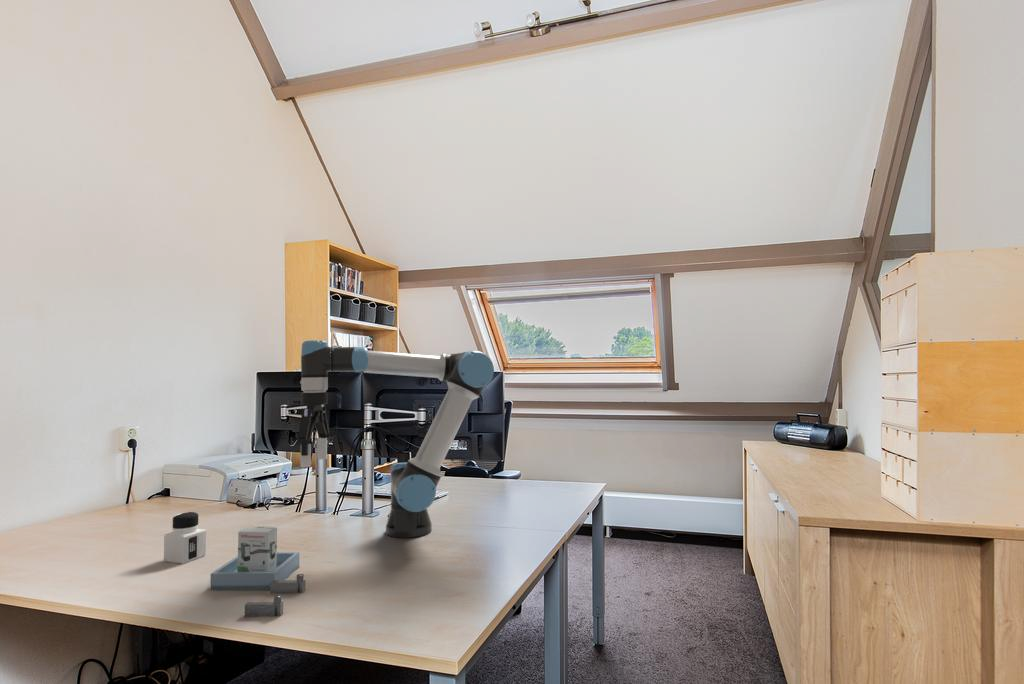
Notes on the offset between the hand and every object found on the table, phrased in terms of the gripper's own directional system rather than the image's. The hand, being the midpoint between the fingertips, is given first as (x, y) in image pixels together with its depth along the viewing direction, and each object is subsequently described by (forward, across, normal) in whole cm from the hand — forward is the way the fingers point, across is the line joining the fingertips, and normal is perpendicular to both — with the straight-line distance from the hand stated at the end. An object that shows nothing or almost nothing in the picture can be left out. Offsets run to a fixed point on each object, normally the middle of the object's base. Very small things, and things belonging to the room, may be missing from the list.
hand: (314, 463), depth 167 cm
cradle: (+27, +35, +4) cm, 44 cm away
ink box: (+26, +19, -8) cm, 33 cm away
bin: (+27, +19, -8) cm, 34 cm away
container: (+27, +3, -37) cm, 46 cm away
